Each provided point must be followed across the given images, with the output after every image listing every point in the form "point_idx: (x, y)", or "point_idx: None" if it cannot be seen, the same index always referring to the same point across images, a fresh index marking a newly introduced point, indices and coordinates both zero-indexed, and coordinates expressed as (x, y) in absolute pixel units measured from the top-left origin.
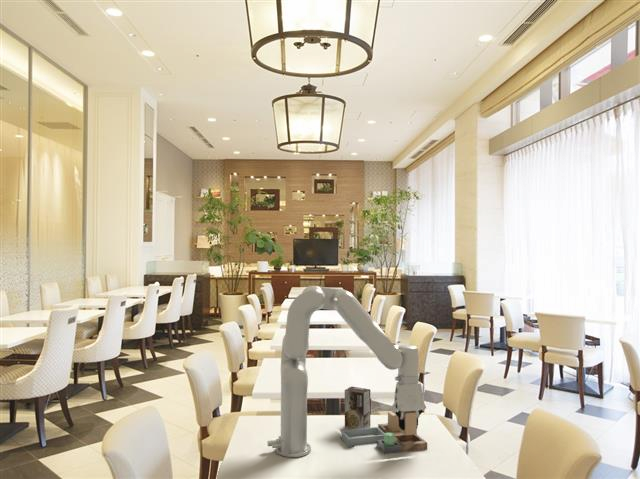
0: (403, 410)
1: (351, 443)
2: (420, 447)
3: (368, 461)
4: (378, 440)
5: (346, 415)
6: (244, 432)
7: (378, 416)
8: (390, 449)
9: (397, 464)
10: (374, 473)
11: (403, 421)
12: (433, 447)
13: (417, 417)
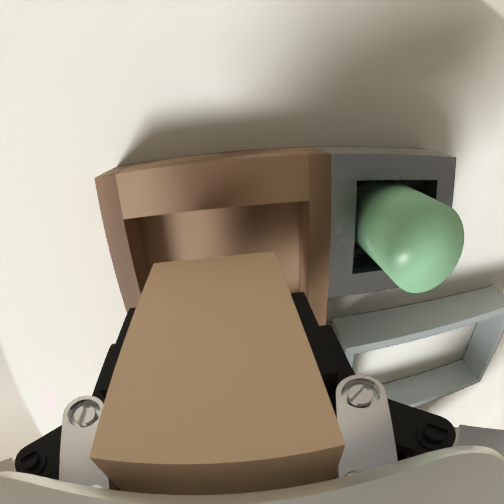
0: (441, 475)
1: (493, 294)
2: (161, 163)
3: (497, 120)
4: None
5: None
6: None
7: None
8: (410, 151)
9: (393, 25)
10: (497, 12)
11: (327, 352)
12: (64, 219)
13: (96, 399)
